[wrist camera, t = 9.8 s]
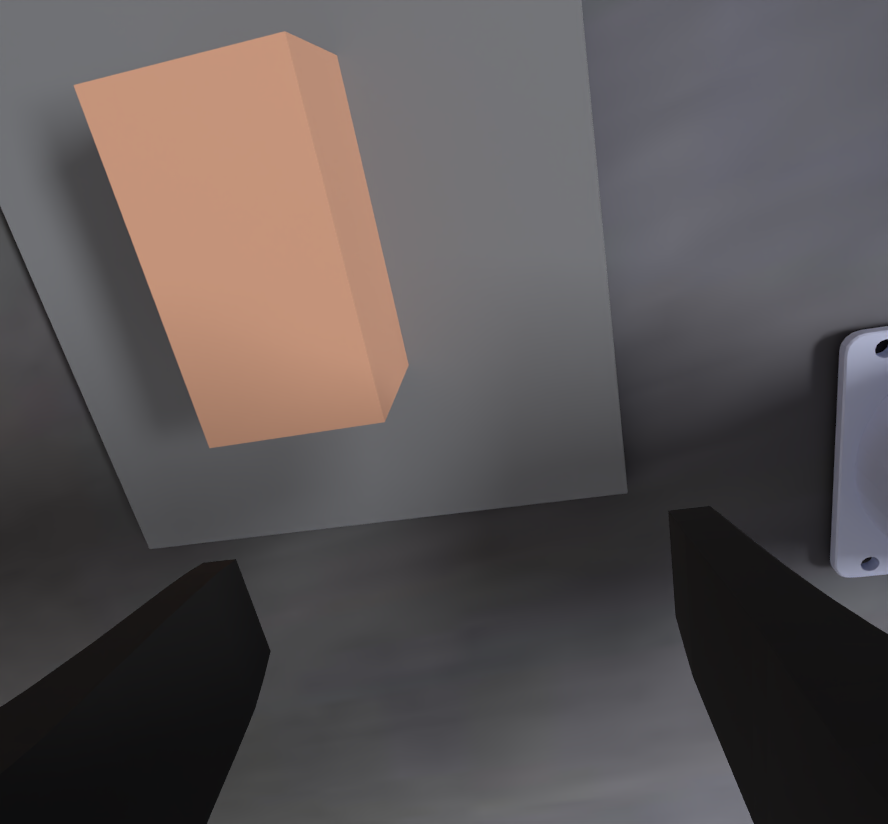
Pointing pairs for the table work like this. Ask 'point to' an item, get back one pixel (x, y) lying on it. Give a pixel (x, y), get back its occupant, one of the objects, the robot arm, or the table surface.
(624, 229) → the table surface
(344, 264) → the light orange rectangular block
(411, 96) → the mat
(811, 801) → the robot arm
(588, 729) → the table surface
